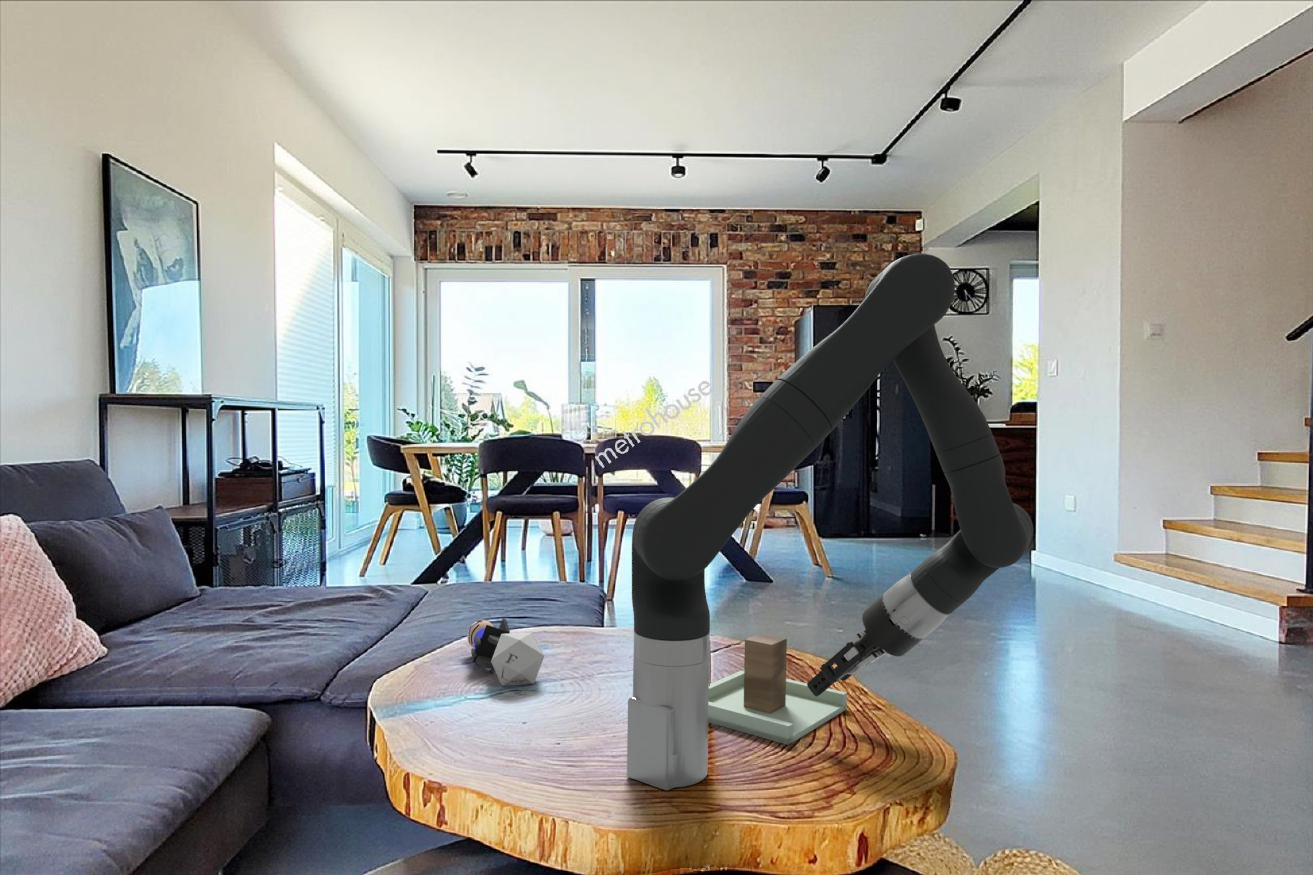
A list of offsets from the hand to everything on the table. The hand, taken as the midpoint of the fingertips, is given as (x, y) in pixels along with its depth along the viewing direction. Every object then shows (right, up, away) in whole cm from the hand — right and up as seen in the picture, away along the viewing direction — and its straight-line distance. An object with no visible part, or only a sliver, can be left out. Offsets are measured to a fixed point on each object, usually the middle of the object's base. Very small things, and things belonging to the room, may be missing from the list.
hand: (825, 682), depth 116 cm
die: (-47, -5, +18) cm, 50 cm away
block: (-8, -5, +6) cm, 11 cm away
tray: (-8, -6, +6) cm, 12 cm away
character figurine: (-53, -5, +28) cm, 61 cm away
